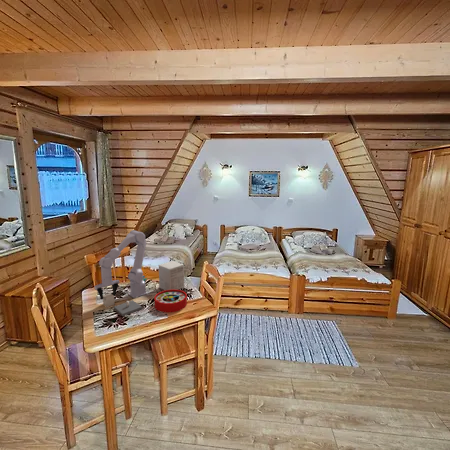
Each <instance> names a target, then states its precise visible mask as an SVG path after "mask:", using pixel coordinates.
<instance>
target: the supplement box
mask: <svg viewBox="0 0 450 450" xmlns="http://www.w3.org/2000/svg"><path fill="white" fill-rule="evenodd" d="M158 276H159V277H158V279H159V289H161V290H162V291H165V290H172V289H175V290H181V289H183V288H185V265H184V264H183V263H180V262H178V261H174V260H171V261H168V262H164V263H160V264H158Z"/></svg>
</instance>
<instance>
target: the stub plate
mask: <svg viewBox="0 0 450 450" xmlns="http://www.w3.org/2000/svg"><path fill="white" fill-rule="evenodd" d="M113 309H114V311H116V312H117V313H118V314H119V315H121V316H122V317H125V316H127V315H131V314H133V313H136V312H139V311H140V310H142V309H143V306H141V305H140V304H139V303H137V302H136V301H134V300H126V302H123V303H121V304H118V305H113Z"/></svg>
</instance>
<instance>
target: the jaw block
mask: <svg viewBox="0 0 450 450" xmlns="http://www.w3.org/2000/svg"><path fill="white" fill-rule="evenodd" d="M102 305H103V306H104V307H106V308H108V307H111V306H115V296H114V295H113V293H111V292H110V293H109V292H108V293H106V294H103V299H102Z"/></svg>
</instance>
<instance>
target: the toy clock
mask: <svg viewBox="0 0 450 450" xmlns="http://www.w3.org/2000/svg"><path fill="white" fill-rule="evenodd" d="M153 298H154V308H155V310H156V311H158V312H161V313H175V312H179V311H181V310H184V309H185V308H186V307H187V305H188V295H187V293H186V292H185V291H184V290H181V289H178V290H175V289H172V290H162V291H159V292H158V293H156V294H155V295H154V297H153Z"/></svg>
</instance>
